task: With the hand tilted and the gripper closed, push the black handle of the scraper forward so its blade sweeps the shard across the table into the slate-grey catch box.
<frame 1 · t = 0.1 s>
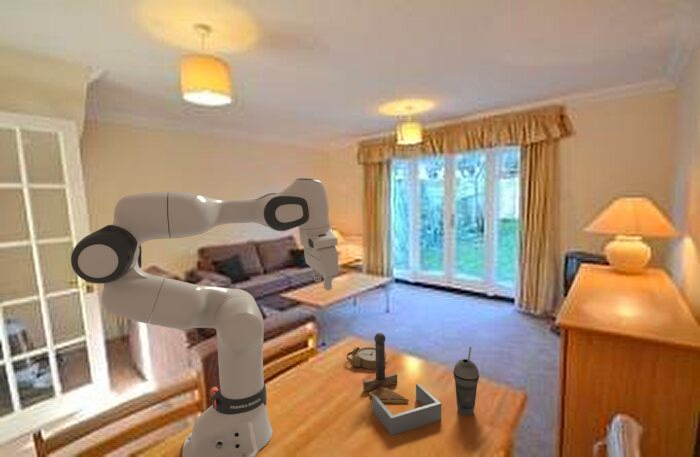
hand: (322, 285, 101), 39 cm above the table, tool pointing down, fingers open, 8 cm apart
shard: (388, 398, 114), on the table
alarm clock: (366, 363, 136), on the table
beverage cup: (465, 411, 106), on the table
scraper: (380, 360, 118), point 9 cm above the table, slide at 0.0 cm
catch box: (406, 415, 104), on the table
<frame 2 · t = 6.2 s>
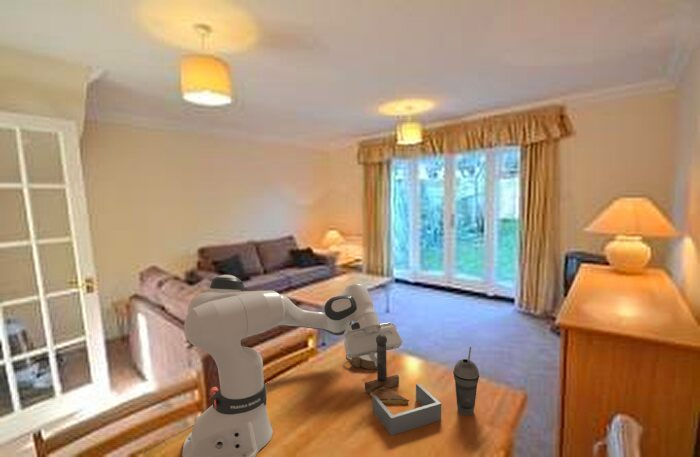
hand: (380, 365, 119), 7 cm above the table, tool tilted 45°, fingers closed
scraper: (381, 361, 117), point 9 cm above the table, slide at 1.2 cm, touching gripper
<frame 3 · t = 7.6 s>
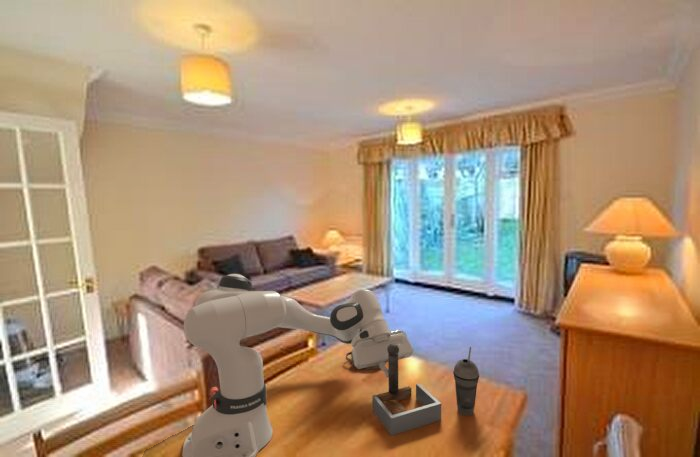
hand: (391, 376, 112), 7 cm above the table, tool tilted 45°, fingers closed, pressing on scraper
shard: (397, 412, 106), on the table
scraper: (393, 372, 110), point 9 cm above the table, slide at 8.9 cm, touching gripper
everything else where it was.
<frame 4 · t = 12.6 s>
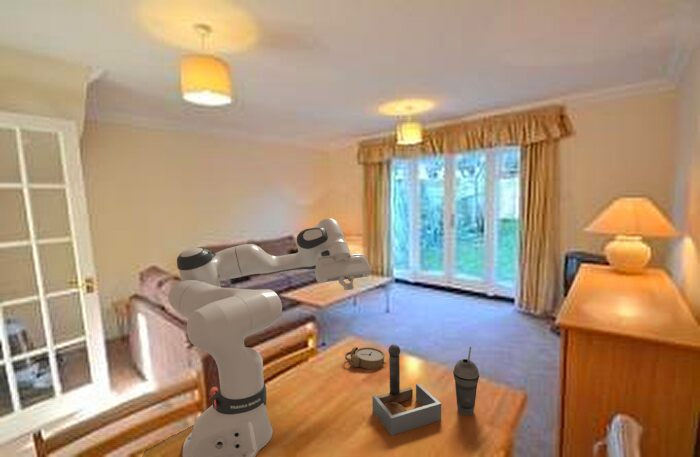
hand: (349, 289, 123), 31 cm above the table, tool tilted 45°, fingers closed
scraper: (394, 373, 109), point 9 cm above the table, slide at 9.6 cm
at the end: shard inside the target area (2.9 cm from its centre), on the table; scraper slide at 9.6 cm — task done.
